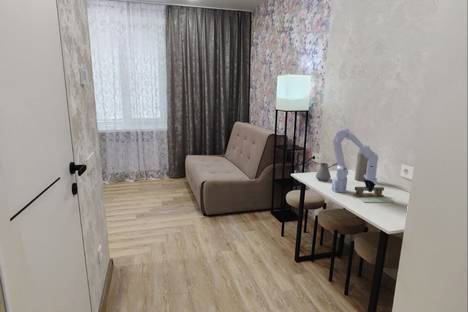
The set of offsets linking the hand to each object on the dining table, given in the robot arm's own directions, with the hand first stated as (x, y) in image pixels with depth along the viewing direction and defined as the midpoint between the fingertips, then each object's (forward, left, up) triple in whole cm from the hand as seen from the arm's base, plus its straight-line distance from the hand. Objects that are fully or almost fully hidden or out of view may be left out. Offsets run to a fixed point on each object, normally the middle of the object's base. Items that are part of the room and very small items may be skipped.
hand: (369, 190), depth 199 cm
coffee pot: (-14, +36, -4) cm, 38 cm away
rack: (0, 0, -3) cm, 3 cm away
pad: (+1, -8, -3) cm, 9 cm away
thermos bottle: (+11, +35, -4) cm, 36 cm away
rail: (0, 0, +1) cm, 1 cm away
